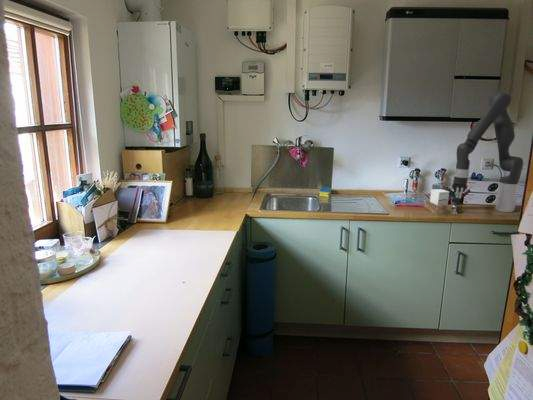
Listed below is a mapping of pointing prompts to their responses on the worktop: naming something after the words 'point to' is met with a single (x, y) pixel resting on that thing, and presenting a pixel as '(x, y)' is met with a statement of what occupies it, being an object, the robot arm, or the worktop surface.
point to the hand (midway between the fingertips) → (456, 203)
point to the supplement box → (439, 197)
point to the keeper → (439, 208)
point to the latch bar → (453, 202)
